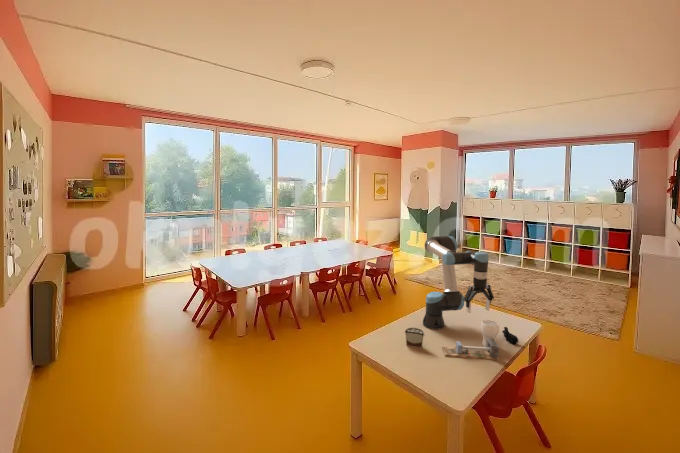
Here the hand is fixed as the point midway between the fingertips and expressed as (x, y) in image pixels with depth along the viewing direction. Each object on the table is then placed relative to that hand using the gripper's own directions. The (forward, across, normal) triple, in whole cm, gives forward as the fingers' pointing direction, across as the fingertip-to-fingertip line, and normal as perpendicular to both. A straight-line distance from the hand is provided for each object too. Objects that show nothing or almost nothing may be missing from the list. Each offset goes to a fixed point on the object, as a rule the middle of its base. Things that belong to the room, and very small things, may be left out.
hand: (477, 311), depth 197 cm
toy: (+24, +28, +2) cm, 37 cm away
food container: (+24, -35, +14) cm, 45 cm away
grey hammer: (+22, -7, -7) cm, 25 cm away
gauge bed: (+24, -9, -6) cm, 26 cm away
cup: (+24, +9, -1) cm, 26 cm away
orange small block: (+22, -11, -8) cm, 26 cm away
